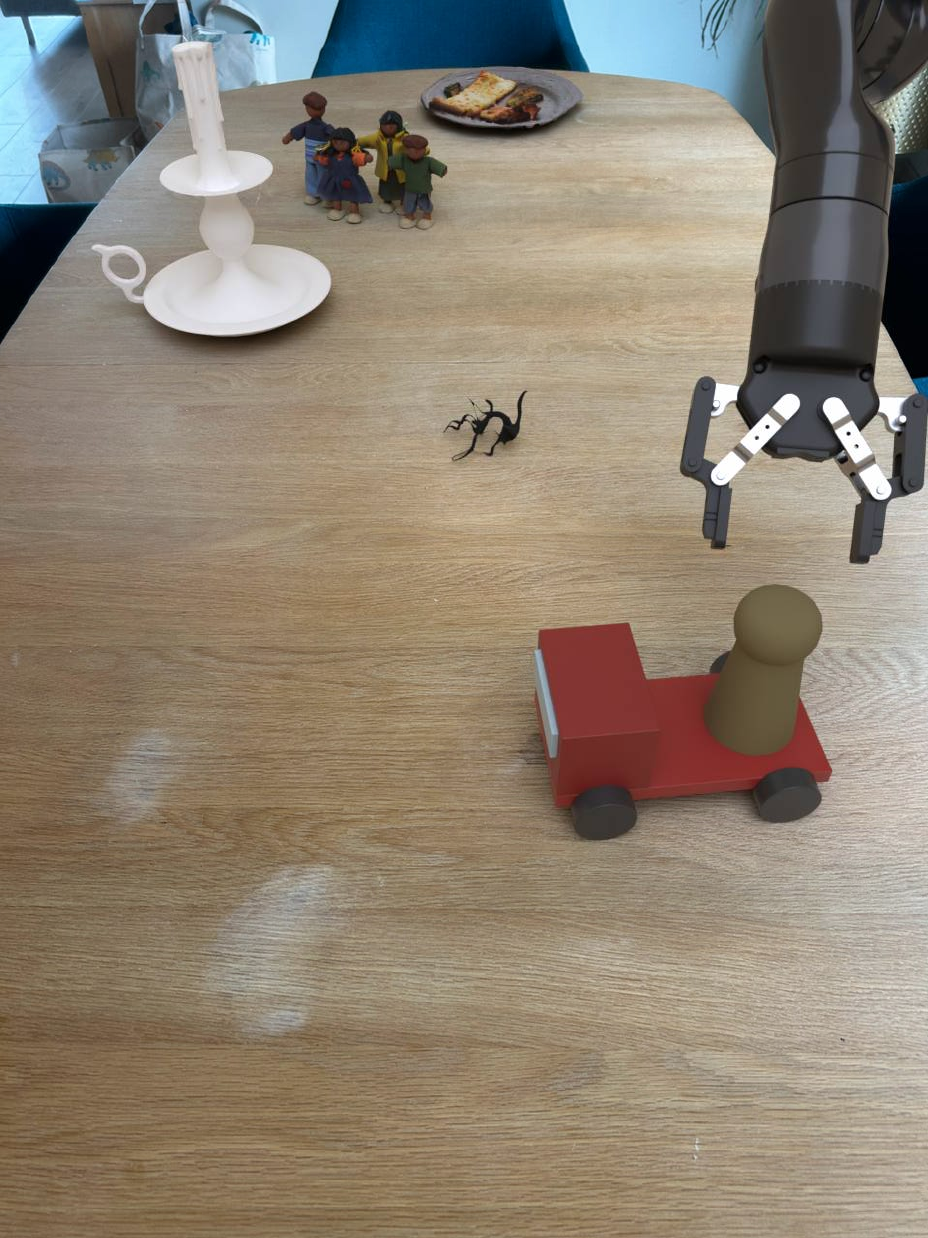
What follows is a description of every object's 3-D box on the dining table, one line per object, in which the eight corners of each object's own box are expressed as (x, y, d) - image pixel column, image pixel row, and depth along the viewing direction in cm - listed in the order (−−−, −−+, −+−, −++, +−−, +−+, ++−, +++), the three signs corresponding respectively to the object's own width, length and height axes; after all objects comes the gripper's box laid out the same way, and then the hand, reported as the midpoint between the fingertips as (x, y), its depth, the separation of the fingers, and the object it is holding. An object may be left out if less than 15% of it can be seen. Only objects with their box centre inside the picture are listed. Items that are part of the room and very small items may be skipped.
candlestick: (126, 276, 119) (54, 10, 99) (333, 264, 121) (304, 0, 101) (98, 369, 105) (7, 80, 85) (334, 354, 106) (299, 67, 86)
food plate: (523, 151, 145) (524, 125, 142) (393, 120, 154) (391, 96, 151) (603, 99, 159) (605, 75, 157) (480, 73, 168) (480, 50, 166)
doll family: (272, 219, 130) (255, 110, 120) (292, 190, 136) (278, 84, 126) (446, 231, 127) (444, 120, 117) (459, 201, 133) (458, 93, 123)
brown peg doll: (789, 765, 65) (832, 650, 57) (696, 742, 66) (725, 627, 58) (798, 697, 69) (839, 581, 61) (710, 676, 70) (739, 560, 62)
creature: (433, 469, 94) (512, 470, 91) (419, 419, 91) (500, 419, 87) (462, 423, 99) (538, 423, 96) (450, 375, 96) (528, 373, 93)
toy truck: (771, 680, 74) (799, 591, 67) (828, 818, 66) (867, 732, 59) (524, 702, 73) (529, 613, 66) (551, 845, 64) (559, 760, 58)
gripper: (707, 266, 59) (676, 540, 59) (961, 282, 57) (927, 565, 57) (695, 305, 66) (667, 548, 67) (919, 320, 64) (890, 570, 65)
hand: (788, 556), depth 62 cm, fingers open, 8 cm apart
